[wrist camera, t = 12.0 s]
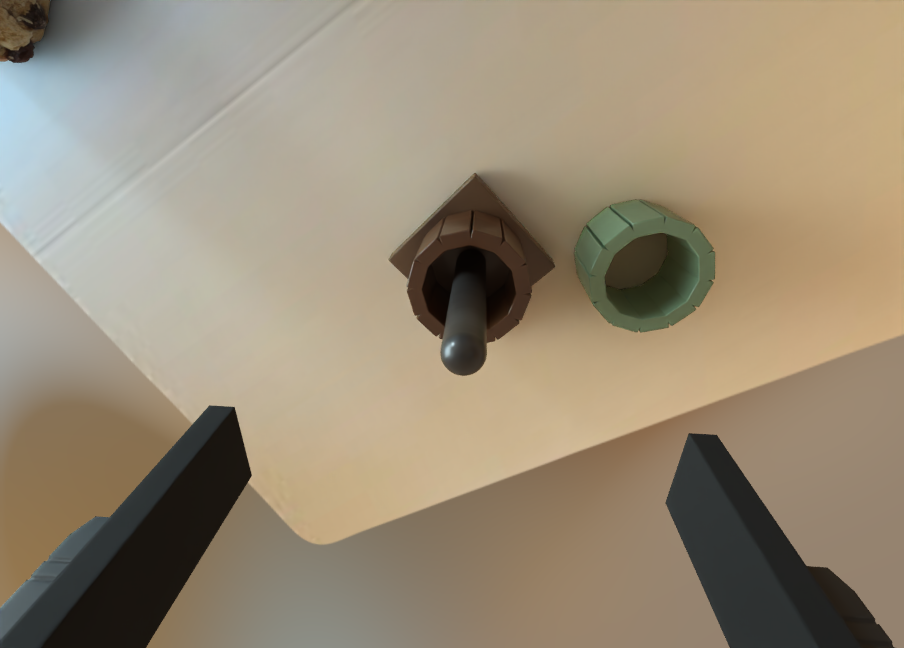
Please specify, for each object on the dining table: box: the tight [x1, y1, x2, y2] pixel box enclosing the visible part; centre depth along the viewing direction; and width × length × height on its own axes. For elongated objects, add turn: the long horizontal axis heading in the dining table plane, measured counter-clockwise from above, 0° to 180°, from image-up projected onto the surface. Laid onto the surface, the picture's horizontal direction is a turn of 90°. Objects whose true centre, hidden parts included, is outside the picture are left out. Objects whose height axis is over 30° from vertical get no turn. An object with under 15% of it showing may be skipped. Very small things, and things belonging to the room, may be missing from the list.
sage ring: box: [574, 200, 715, 332], centre depth 28 cm, size 7×7×5 cm
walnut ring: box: [407, 210, 532, 343], centre depth 28 cm, size 7×7×5 cm
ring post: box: [389, 173, 555, 376], centre depth 25 cm, size 8×8×14 cm
